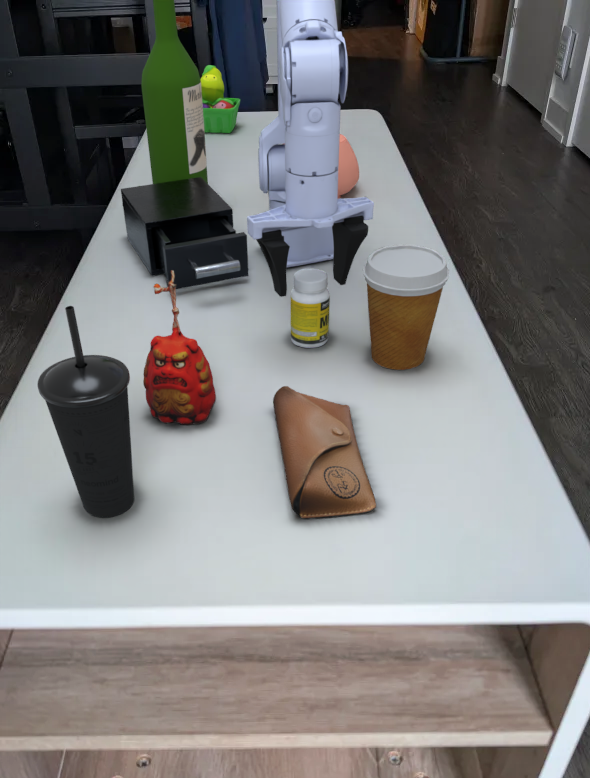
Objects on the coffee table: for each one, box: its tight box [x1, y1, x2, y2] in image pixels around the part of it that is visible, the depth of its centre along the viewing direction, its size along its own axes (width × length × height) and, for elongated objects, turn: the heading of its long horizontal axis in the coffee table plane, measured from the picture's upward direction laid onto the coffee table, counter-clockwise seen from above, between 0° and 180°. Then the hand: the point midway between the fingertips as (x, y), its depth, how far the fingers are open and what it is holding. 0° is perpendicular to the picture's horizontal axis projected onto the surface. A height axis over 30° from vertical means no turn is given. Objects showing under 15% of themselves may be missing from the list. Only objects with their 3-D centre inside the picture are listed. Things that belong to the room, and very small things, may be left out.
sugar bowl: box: [337, 133, 360, 199], centre depth 134 cm, size 12×14×10 cm
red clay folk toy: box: [143, 270, 217, 426], centre depth 82 cm, size 8×7×15 cm
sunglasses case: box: [272, 385, 377, 520], centre depth 79 cm, size 18×7×7 cm
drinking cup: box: [37, 305, 135, 518], centre depth 69 cm, size 8×8×20 cm
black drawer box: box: [120, 177, 234, 277], centre depth 118 cm, size 15×13×8 cm
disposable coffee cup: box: [362, 244, 451, 371], centre depth 91 cm, size 10×10×12 cm
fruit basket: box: [200, 64, 241, 134], centre depth 163 cm, size 11×9×11 cm
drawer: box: [152, 216, 249, 290], centre depth 110 cm, size 18×11×6 cm, turn 21°
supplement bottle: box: [290, 267, 331, 349], centre depth 96 cm, size 5×5×8 cm
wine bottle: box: [140, 0, 209, 185], centre depth 121 cm, size 9×9×32 cm
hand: (310, 287), depth 94 cm, fingers open, 7 cm apart
